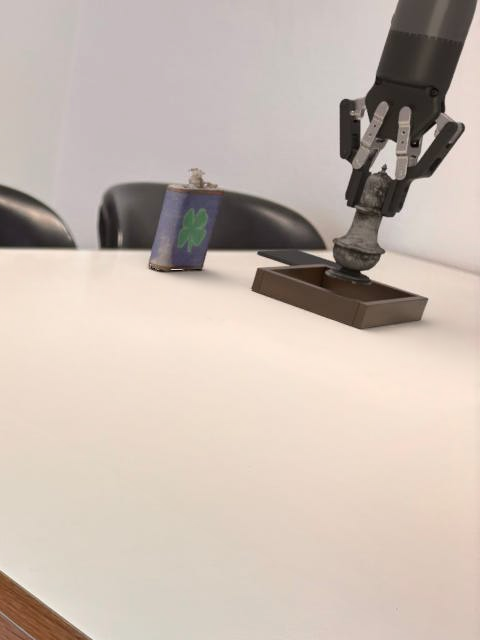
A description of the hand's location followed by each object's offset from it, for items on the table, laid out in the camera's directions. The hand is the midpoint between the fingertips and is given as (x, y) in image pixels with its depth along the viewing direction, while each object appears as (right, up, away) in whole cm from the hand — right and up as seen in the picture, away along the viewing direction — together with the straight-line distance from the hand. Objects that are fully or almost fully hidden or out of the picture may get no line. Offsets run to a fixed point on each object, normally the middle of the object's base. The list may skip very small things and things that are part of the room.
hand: (370, 210), depth 116 cm
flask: (-20, -4, +7) cm, 22 cm away
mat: (+1, +3, +26) cm, 26 cm away
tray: (-2, -9, +5) cm, 10 cm away
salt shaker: (-1, -6, +4) cm, 7 cm away
